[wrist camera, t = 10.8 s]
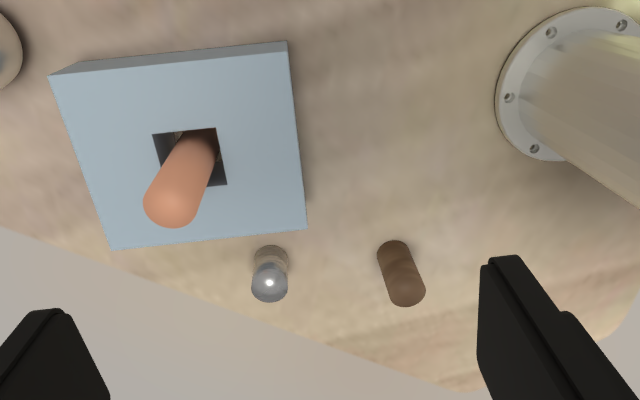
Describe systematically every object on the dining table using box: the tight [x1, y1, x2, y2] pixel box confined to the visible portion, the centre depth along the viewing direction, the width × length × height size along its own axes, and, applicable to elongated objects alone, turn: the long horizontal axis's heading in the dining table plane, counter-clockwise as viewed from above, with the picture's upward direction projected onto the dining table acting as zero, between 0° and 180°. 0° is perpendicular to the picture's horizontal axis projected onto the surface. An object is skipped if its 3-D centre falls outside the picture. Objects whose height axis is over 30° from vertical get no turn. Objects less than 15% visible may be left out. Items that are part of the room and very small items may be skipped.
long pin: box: [143, 127, 220, 229], centre depth 32 cm, size 3×3×12 cm
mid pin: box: [377, 240, 426, 307], centre depth 42 cm, size 3×3×6 cm
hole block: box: [47, 41, 308, 251], centre depth 35 cm, size 16×14×5 cm
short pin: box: [251, 245, 288, 303], centre depth 42 cm, size 3×3×4 cm
